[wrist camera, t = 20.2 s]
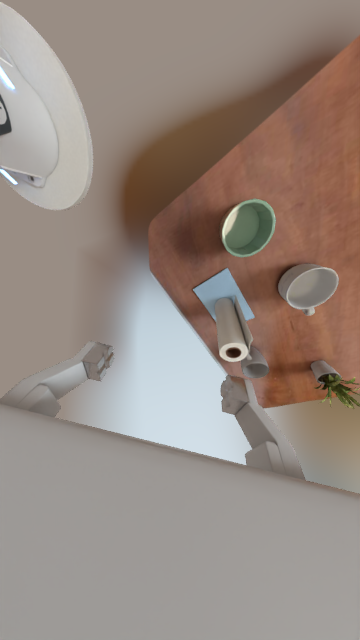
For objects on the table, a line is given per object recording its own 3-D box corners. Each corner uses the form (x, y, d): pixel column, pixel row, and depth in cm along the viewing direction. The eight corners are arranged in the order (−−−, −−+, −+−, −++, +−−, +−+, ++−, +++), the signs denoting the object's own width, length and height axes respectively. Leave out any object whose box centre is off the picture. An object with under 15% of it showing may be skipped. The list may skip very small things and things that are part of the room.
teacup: (275, 265, 41) (288, 274, 34) (323, 254, 38) (347, 262, 31) (272, 307, 48) (283, 322, 42) (312, 302, 45) (330, 316, 39)
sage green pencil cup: (213, 244, 40) (215, 251, 33) (227, 198, 34) (233, 193, 27) (249, 253, 40) (259, 261, 33) (269, 208, 34) (286, 206, 27)
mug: (264, 354, 60) (273, 375, 52) (242, 360, 64) (248, 380, 56) (253, 334, 55) (261, 353, 47) (230, 342, 59) (234, 361, 51)
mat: (193, 288, 48) (192, 289, 48) (227, 267, 43) (227, 268, 43) (222, 330, 56) (222, 331, 56) (254, 316, 51) (254, 317, 50)
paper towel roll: (216, 314, 52) (221, 363, 35) (212, 299, 49) (216, 345, 32) (238, 310, 50) (255, 360, 32) (235, 294, 47) (253, 340, 29)
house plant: (355, 358, 55) (403, 403, 41) (325, 378, 63) (357, 422, 50) (318, 348, 55) (354, 390, 41) (293, 370, 63) (317, 411, 49)
